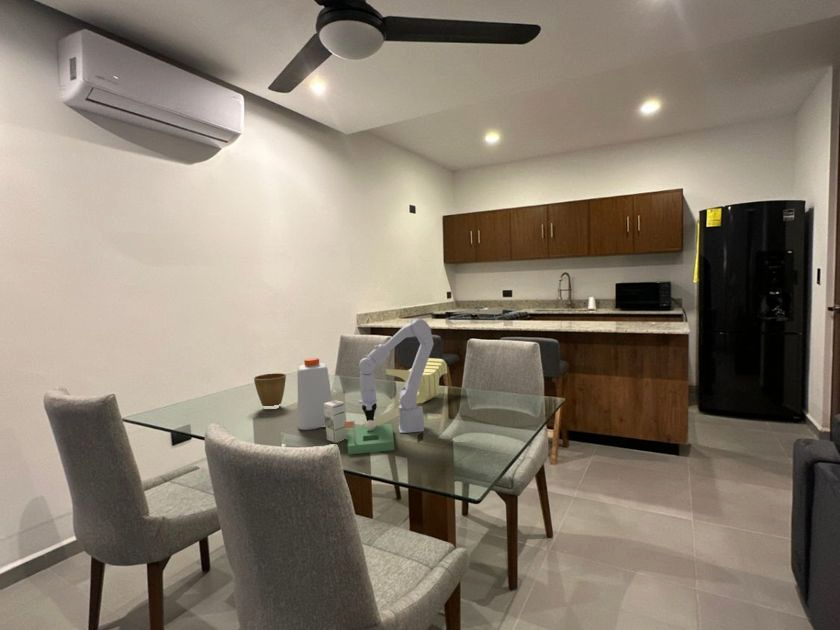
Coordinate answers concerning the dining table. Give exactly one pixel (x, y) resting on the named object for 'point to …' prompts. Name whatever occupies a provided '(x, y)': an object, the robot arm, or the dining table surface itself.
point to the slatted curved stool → (425, 378)
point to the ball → (370, 425)
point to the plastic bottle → (312, 394)
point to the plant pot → (270, 388)
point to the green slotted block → (369, 438)
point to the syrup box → (335, 421)
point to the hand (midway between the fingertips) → (370, 423)
